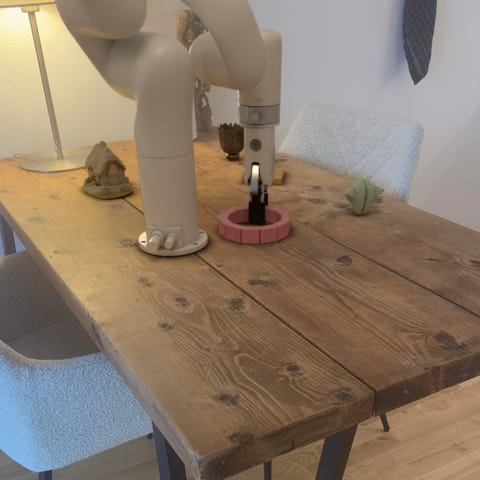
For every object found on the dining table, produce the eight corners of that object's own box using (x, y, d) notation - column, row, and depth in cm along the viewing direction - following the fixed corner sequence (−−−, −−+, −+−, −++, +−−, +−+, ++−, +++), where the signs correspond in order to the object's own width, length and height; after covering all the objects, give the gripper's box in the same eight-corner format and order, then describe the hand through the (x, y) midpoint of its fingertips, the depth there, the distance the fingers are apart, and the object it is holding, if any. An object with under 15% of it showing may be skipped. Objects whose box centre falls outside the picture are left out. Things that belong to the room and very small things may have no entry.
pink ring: (286, 245, 102) (287, 230, 100) (214, 242, 103) (214, 228, 102) (291, 219, 112) (292, 206, 110) (226, 217, 113) (225, 204, 112)
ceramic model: (77, 185, 131) (68, 138, 125) (122, 178, 135) (116, 132, 129) (96, 202, 122) (87, 152, 115) (144, 193, 126) (139, 144, 120)
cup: (241, 164, 143) (241, 129, 138) (214, 162, 145) (213, 127, 140) (250, 156, 149) (250, 122, 144) (224, 154, 151) (223, 121, 146)
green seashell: (344, 219, 111) (348, 183, 107) (337, 212, 114) (340, 177, 110) (382, 215, 113) (387, 180, 108) (374, 209, 116) (378, 174, 111)
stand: (281, 184, 130) (283, 120, 121) (242, 183, 131) (242, 119, 122) (284, 173, 137) (286, 112, 128) (247, 172, 138) (247, 111, 129)
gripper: (275, 125, 93) (273, 234, 105) (284, 105, 106) (281, 204, 118) (230, 124, 94) (233, 233, 106) (244, 105, 107) (245, 203, 119)
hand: (258, 217), depth 112 cm, fingers open, 4 cm apart
